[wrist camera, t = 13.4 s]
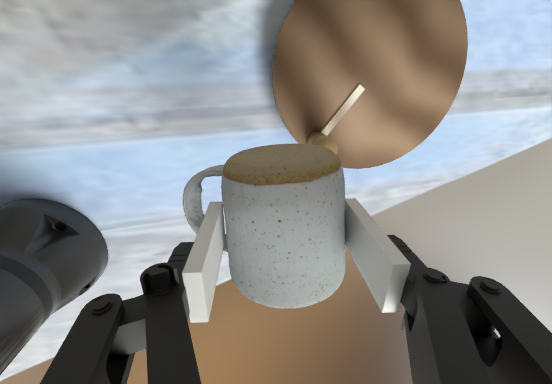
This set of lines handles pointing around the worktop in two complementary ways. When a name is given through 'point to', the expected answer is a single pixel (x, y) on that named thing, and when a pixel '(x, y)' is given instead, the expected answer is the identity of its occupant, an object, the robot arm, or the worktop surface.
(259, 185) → the ceramic mug
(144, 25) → the worktop surface
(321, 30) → the disc
